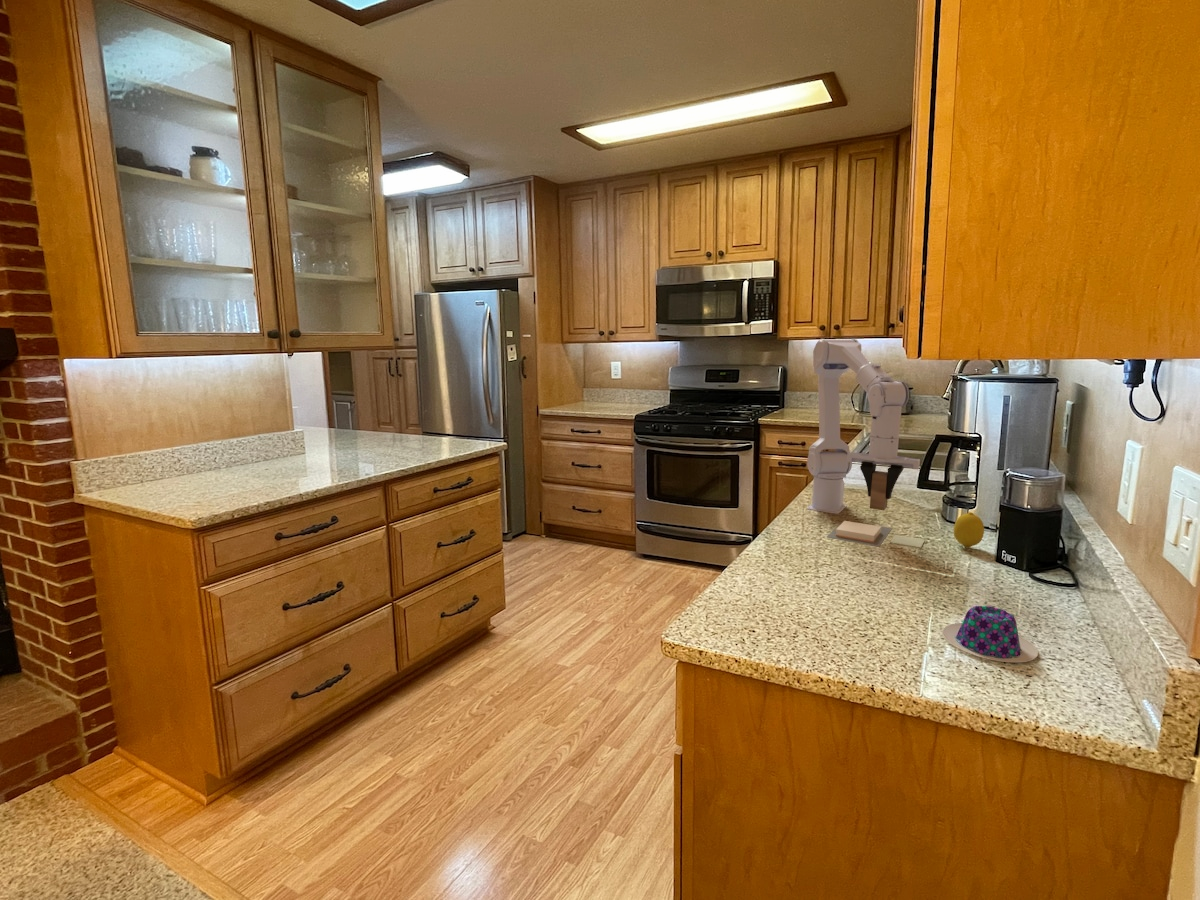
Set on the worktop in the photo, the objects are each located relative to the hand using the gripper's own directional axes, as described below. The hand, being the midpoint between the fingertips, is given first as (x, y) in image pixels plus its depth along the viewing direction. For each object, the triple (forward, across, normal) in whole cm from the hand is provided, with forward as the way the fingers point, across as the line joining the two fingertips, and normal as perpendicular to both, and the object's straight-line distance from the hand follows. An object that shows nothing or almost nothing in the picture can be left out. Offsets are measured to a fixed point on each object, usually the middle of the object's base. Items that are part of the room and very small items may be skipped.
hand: (879, 496), depth 137 cm
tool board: (+10, +6, 0) cm, 11 cm away
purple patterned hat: (+10, +24, -43) cm, 50 cm away
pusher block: (+2, 0, 0) cm, 3 cm away
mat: (+10, -4, +1) cm, 10 cm away
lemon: (+10, +17, +4) cm, 20 cm away
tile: (+8, -4, +3) cm, 10 cm away
